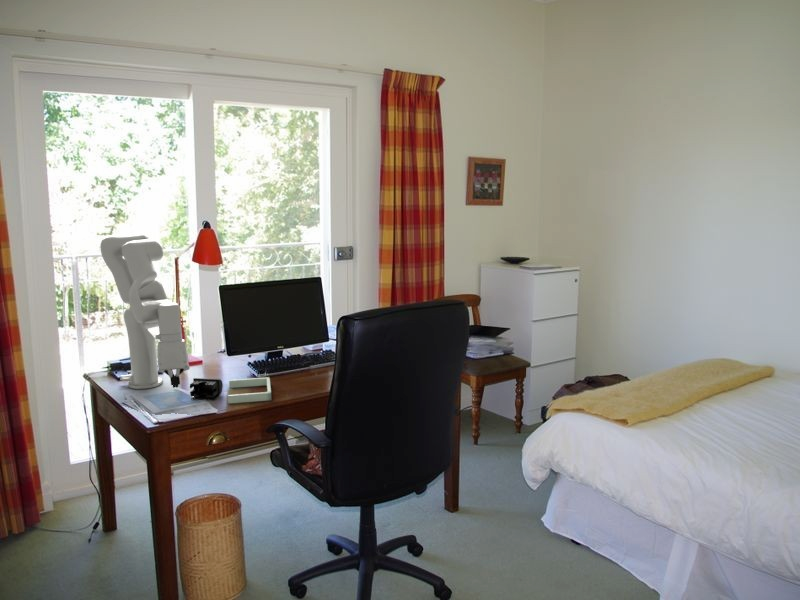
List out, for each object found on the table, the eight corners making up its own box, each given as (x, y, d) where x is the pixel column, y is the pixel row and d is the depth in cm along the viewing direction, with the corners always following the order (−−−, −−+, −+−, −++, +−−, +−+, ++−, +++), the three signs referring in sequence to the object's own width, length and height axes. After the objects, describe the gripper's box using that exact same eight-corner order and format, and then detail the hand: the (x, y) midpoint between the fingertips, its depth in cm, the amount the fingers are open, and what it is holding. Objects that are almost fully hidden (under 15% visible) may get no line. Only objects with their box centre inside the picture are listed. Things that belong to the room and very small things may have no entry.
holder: (228, 403, 234) (227, 396, 233) (229, 386, 252) (229, 380, 251) (271, 400, 237) (271, 392, 237) (269, 383, 255) (269, 377, 254)
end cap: (223, 394, 244) (222, 376, 242) (215, 400, 237) (214, 383, 236) (198, 393, 245) (196, 375, 244) (189, 399, 238) (188, 382, 237)
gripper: (147, 341, 229) (152, 391, 232) (192, 337, 232) (196, 387, 235) (150, 336, 236) (155, 385, 239) (193, 333, 239) (198, 381, 242)
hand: (175, 386), depth 237 cm, fingers closed
